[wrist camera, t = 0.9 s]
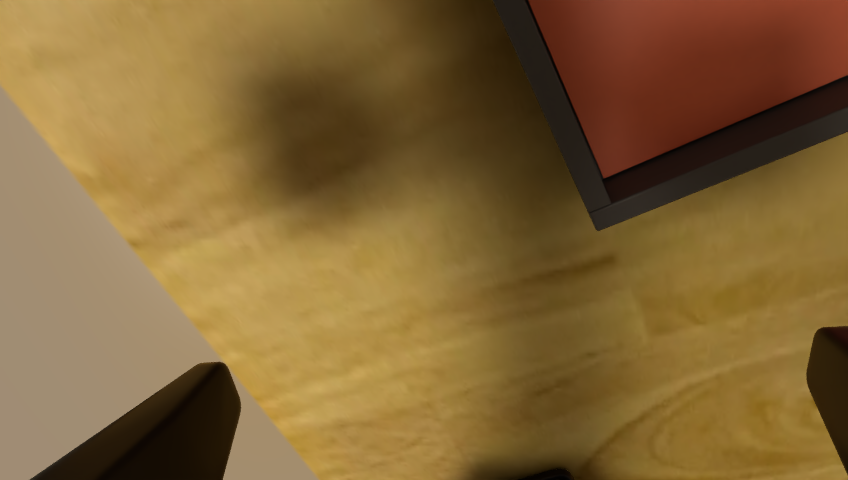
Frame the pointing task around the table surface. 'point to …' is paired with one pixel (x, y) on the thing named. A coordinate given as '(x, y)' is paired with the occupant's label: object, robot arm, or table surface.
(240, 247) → the table surface
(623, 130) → the tray
